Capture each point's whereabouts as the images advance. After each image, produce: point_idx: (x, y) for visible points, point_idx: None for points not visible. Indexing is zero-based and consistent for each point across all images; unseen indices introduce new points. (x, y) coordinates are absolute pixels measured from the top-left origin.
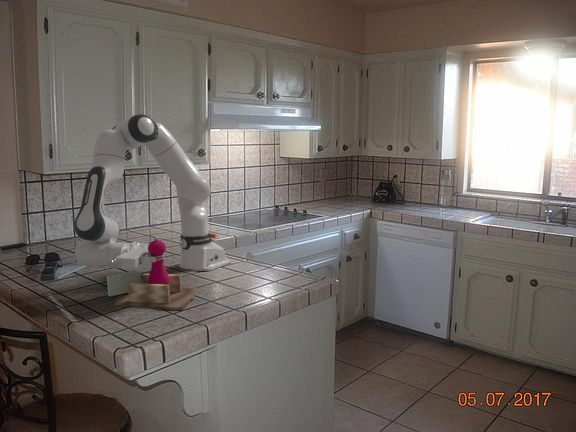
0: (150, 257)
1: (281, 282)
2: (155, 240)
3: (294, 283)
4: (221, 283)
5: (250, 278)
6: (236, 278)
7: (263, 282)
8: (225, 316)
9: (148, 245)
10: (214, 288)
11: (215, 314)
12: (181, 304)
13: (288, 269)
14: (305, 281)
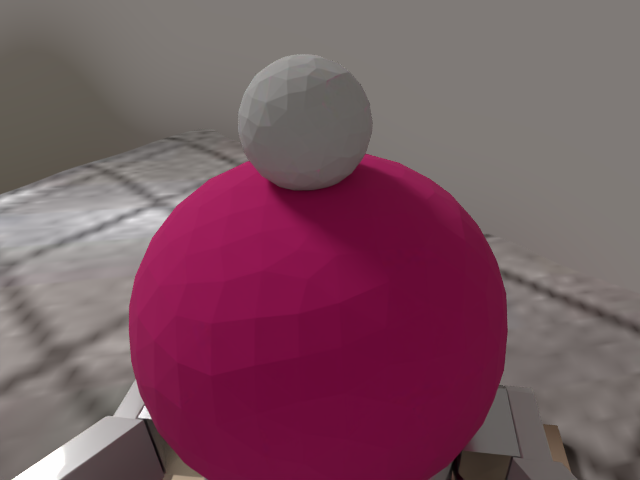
0: (552, 461)
1: (176, 190)
2: (362, 158)
3: (198, 171)
4: (99, 335)
5: (80, 254)
6: (49, 293)
7: (155, 222)
8: (552, 271)
9: (395, 383)
10: None
11: (545, 300)
12: None
13: (34, 186)
14: (188, 158)
